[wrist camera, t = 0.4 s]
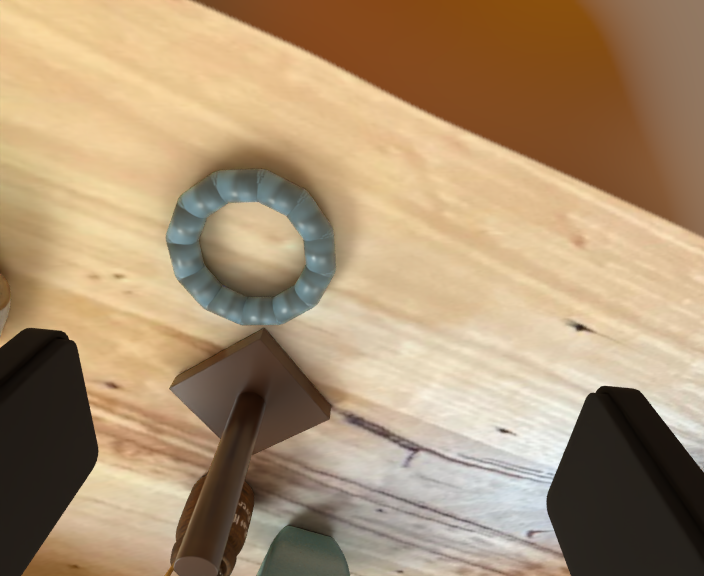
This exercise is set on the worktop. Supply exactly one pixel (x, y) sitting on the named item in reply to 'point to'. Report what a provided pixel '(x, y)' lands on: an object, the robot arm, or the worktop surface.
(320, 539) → the flower pot
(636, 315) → the worktop surface
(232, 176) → the ring
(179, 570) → the peg stand
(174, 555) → the utensil holder
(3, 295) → the ceramic mug
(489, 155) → the worktop surface
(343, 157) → the worktop surface
